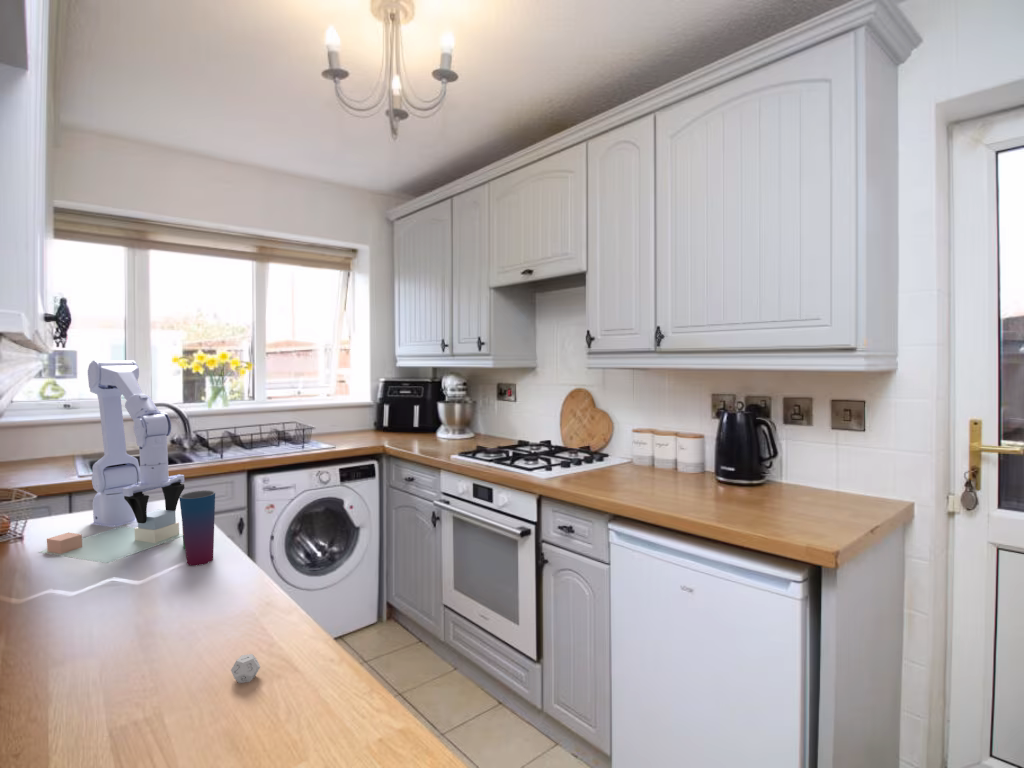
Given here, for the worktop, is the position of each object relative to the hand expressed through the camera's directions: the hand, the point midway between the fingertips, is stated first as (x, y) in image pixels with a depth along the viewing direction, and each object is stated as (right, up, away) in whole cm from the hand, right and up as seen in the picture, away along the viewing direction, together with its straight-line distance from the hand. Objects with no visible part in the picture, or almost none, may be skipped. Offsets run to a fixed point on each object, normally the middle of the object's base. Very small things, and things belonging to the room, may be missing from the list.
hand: (156, 518), depth 132 cm
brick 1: (-16, -5, -8) cm, 19 cm away
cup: (+19, -6, -14) cm, 24 cm away
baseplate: (-8, -6, -3) cm, 10 cm away
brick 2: (0, -2, 0) cm, 2 cm away
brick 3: (0, -5, 0) cm, 5 cm away
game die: (+50, -9, -56) cm, 76 cm away
